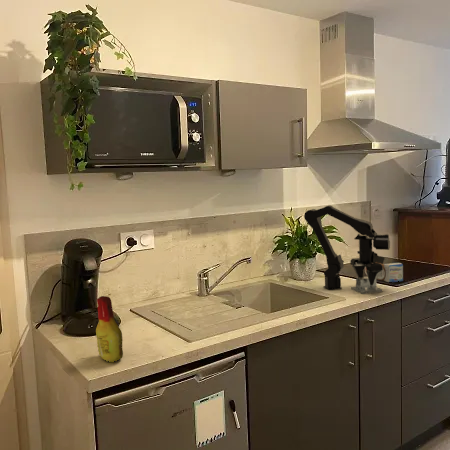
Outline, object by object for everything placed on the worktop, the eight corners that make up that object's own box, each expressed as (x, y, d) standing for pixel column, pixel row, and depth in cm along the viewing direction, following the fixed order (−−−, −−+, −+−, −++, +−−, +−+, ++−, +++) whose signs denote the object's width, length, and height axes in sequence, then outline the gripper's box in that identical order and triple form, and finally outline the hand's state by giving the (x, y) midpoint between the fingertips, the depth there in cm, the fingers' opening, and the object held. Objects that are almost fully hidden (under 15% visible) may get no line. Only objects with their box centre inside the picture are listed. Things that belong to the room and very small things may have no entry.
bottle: (92, 356, 149) (87, 295, 147) (111, 351, 153) (106, 291, 151) (108, 367, 139) (103, 301, 137) (128, 361, 143) (123, 297, 141)
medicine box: (389, 282, 226) (388, 265, 225) (383, 281, 230) (383, 263, 229) (403, 281, 228) (403, 263, 227) (397, 279, 232) (397, 262, 231)
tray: (362, 293, 208) (362, 288, 208) (351, 289, 218) (351, 283, 218) (382, 291, 210) (382, 286, 210) (370, 286, 220) (370, 281, 220)
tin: (390, 281, 229) (389, 264, 229) (385, 282, 228) (385, 265, 227) (367, 276, 243) (367, 260, 242) (363, 276, 241) (362, 260, 240)
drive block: (360, 290, 211) (360, 279, 211) (356, 288, 215) (356, 277, 215) (376, 288, 213) (376, 277, 212) (371, 286, 217) (371, 275, 216)
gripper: (393, 250, 205) (393, 285, 206) (370, 245, 223) (371, 277, 225) (370, 252, 202) (371, 288, 204) (349, 247, 221) (350, 279, 222)
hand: (366, 282), depth 214 cm, fingers open, 9 cm apart
